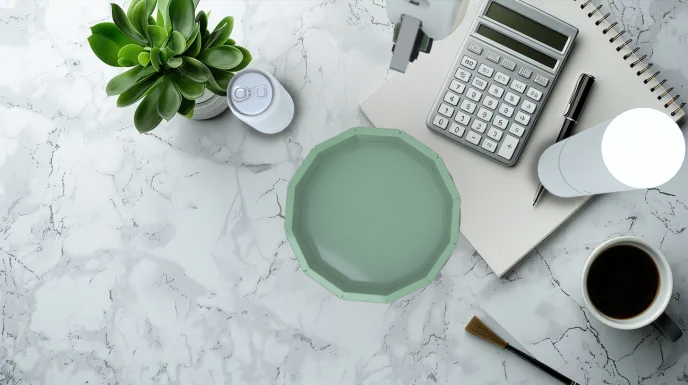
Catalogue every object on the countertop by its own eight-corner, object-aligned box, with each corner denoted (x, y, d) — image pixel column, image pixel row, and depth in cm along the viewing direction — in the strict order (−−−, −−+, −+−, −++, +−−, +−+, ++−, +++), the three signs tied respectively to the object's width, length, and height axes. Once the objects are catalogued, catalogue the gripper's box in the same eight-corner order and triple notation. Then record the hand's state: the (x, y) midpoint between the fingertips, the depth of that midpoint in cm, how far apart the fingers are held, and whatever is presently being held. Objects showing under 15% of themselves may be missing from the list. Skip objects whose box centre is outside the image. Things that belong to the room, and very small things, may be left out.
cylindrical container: (588, 201, 79) (678, 194, 54) (532, 192, 79) (595, 180, 54) (597, 147, 79) (691, 114, 54) (541, 138, 80) (608, 101, 55)
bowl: (410, 109, 57) (412, 98, 52) (481, 252, 56) (490, 256, 51) (269, 178, 58) (257, 174, 53) (336, 320, 57) (330, 331, 52)
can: (246, 88, 83) (221, 67, 71) (293, 84, 82) (276, 62, 71) (249, 136, 83) (224, 122, 71) (296, 132, 82) (280, 118, 70)
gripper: (456, 62, 35) (436, 111, 52) (559, -231, 34) (504, -83, 52) (331, 22, 35) (353, 83, 53) (431, -266, 35) (420, -109, 53)
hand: (428, 0), depth 52 cm, fingers closed on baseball, 7 cm apart
